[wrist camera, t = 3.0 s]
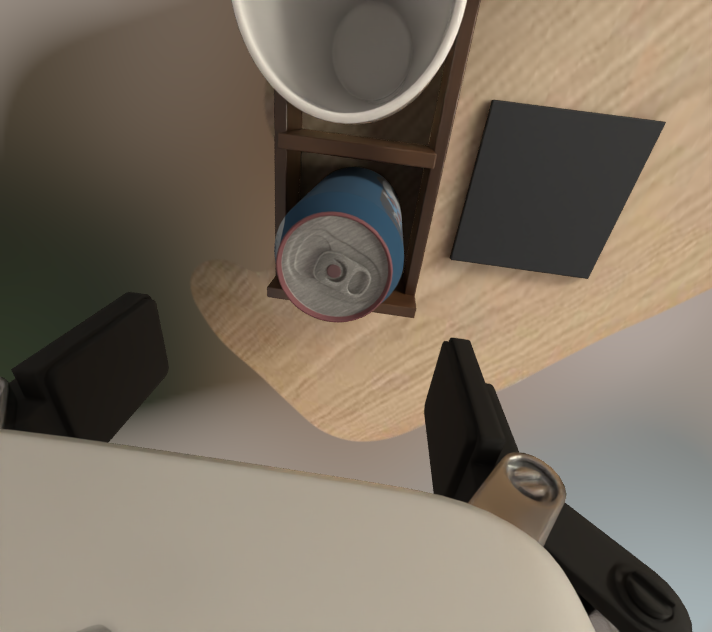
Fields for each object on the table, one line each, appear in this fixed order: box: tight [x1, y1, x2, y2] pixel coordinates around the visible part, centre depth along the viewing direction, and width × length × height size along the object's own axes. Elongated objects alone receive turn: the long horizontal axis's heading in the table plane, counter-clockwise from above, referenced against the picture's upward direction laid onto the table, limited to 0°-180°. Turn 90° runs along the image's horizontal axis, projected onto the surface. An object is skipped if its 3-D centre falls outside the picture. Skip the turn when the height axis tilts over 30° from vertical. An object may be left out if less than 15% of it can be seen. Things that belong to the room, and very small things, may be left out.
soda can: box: [274, 167, 404, 322], centre depth 22 cm, size 7×7×12 cm
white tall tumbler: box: [231, 0, 467, 125], centre depth 16 cm, size 7×7×15 cm
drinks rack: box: [267, 0, 481, 318], centre depth 22 cm, size 11×20×6 cm, turn 173°
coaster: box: [450, 100, 666, 279], centre depth 25 cm, size 11×11×1 cm
